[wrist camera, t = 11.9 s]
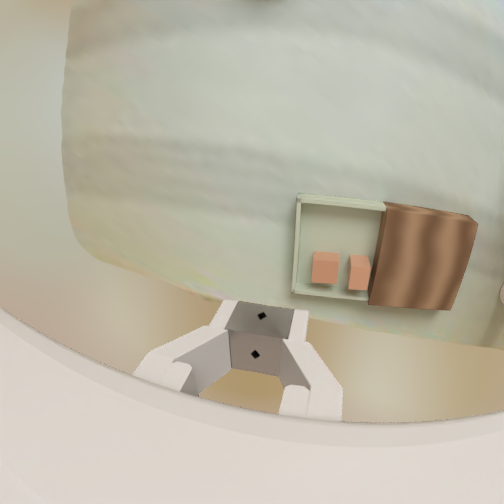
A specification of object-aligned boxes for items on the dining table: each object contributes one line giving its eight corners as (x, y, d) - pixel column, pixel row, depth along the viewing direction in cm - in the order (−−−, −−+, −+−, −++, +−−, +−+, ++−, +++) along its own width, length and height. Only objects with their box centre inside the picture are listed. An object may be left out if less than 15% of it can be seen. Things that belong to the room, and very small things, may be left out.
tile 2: (349, 254, 43) (367, 255, 42) (347, 276, 45) (364, 277, 44) (351, 266, 40) (370, 267, 39) (348, 289, 41) (366, 290, 41)
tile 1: (313, 259, 42) (314, 251, 45) (311, 282, 44) (312, 272, 46) (339, 261, 41) (338, 252, 44) (336, 284, 43) (336, 274, 45)
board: (468, 215, 35) (478, 223, 32) (444, 297, 42) (450, 310, 39) (382, 201, 39) (387, 209, 35) (366, 291, 46) (368, 304, 42)
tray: (382, 201, 39) (386, 207, 36) (366, 291, 46) (367, 301, 43) (298, 193, 42) (296, 198, 39) (293, 283, 49) (291, 292, 46)
